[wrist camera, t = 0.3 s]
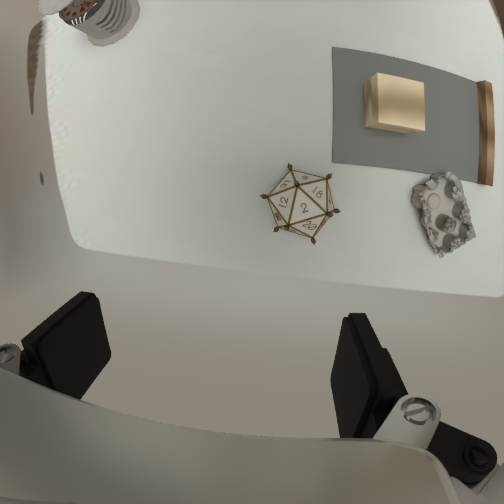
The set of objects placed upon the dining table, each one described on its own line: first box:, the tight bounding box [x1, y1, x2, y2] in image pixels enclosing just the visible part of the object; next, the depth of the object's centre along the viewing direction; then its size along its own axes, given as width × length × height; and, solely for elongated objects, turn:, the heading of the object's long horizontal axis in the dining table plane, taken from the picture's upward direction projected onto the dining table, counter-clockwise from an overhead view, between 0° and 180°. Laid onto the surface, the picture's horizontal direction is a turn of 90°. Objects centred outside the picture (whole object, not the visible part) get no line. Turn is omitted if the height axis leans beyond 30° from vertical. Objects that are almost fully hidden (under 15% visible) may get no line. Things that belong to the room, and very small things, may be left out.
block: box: [363, 73, 425, 134], centre depth 30 cm, size 6×6×6 cm
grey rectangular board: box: [332, 47, 479, 183], centre depth 32 cm, size 16×24×1 cm
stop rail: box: [477, 80, 495, 186], centre depth 30 cm, size 16×2×2 cm, turn 179°
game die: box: [260, 163, 340, 245], centre depth 34 cm, size 9×8×10 cm
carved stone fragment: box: [411, 172, 476, 258], centre depth 34 cm, size 11×8×4 cm
